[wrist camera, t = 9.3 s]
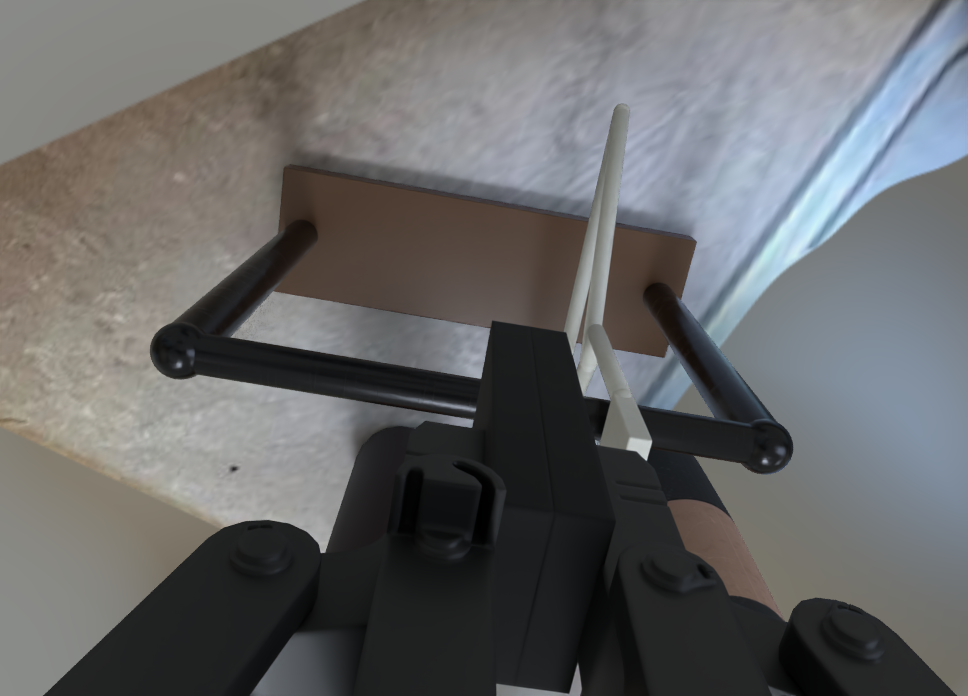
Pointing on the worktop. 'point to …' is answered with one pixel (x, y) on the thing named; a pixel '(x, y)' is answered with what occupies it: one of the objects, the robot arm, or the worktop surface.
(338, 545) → the bottle
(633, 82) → the worktop surface
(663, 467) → the travel mug
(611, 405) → the hanger
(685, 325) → the rail
